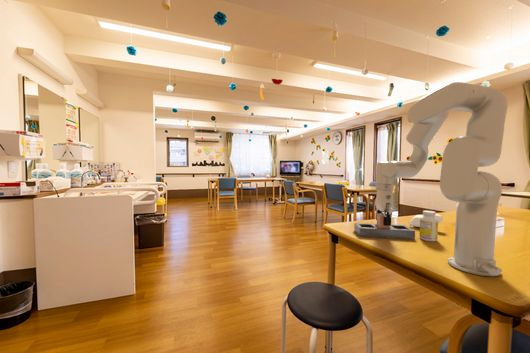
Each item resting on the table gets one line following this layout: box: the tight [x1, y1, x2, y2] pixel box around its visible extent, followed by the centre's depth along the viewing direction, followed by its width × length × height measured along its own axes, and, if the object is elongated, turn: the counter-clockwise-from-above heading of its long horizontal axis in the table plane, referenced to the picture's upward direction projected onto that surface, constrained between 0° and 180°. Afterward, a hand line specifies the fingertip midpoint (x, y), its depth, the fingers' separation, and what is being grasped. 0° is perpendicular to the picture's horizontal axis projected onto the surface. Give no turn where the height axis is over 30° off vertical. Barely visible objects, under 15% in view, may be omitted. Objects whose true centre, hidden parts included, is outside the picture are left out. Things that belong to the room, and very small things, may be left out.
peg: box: [376, 212, 390, 228], centre depth 108 cm, size 4×4×10 cm
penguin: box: [408, 213, 444, 228], centre depth 120 cm, size 9×8×15 cm
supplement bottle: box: [419, 210, 439, 242], centre depth 102 cm, size 7×7×13 cm
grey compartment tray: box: [353, 222, 416, 240], centre depth 108 cm, size 10×24×4 cm, turn 82°
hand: (383, 222), depth 108 cm, fingers open, 9 cm apart
